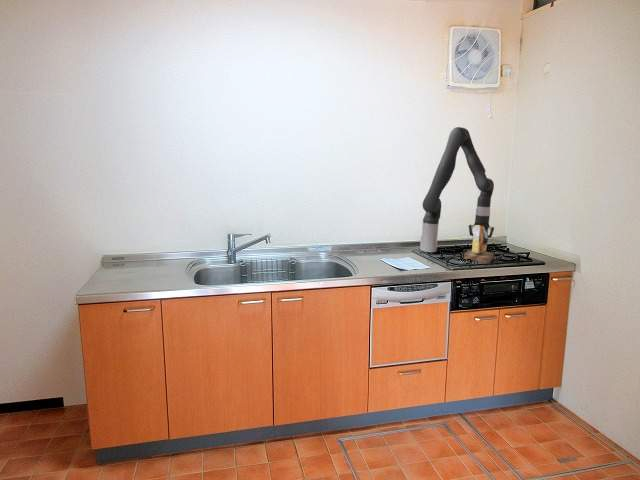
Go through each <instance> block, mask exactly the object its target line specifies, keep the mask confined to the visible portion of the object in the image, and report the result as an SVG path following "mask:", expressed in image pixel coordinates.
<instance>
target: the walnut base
mask: <svg viewBox="0 0 640 480" xmlns="http://www.w3.org/2000/svg"><path fill="white" fill-rule="evenodd" d="M463 259H471V260H473V261H472V262H479V263H485V264H490V263H491V261H492V260H493V259H494V252H488V251H484V252H479V253H476V252H472V249H468V250H467V251H466V252H465V253H464V254H463Z"/></svg>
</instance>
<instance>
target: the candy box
mask: <svg viewBox="0 0 640 480" xmlns="http://www.w3.org/2000/svg"><path fill="white" fill-rule="evenodd" d="M473 225H474V224H473ZM483 227H484V226H482V225H474V227H473V236H472V240H473V242H472V245H471V246H472V247H471V250H472V252H476V253H479V252H487V246H488V243H487V244H486V245H484V242H485V235H484V232H483ZM487 234H488V235H489V228H488V229H487Z"/></svg>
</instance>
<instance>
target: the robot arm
mask: <svg viewBox="0 0 640 480" xmlns="http://www.w3.org/2000/svg"><path fill="white" fill-rule="evenodd" d="M472 140H473V139H472V137H471V134H470V131H469V130H468V129H467V128H466V127H460V126H457V127H454V128H453V129H452V130H451V131H450V132H449V136H448V140H447V142H446V145H445V148H444V149H445V150H444V152H443V153H442V156H441V159H440V161H439V164H438V166H437V168H436V171H435V173H434V176H433V179H432V181H431V184H430V188H429V189H428V191H427V193H426V195H425V197H424V198H423V201H422V209H423V210H424V212H425V214H424V217H423V219H422V231H421V235H420V241H419V242H420V244H419V246H420V247H419V251H420V252H425V253H436V252H437V248H438V235H439V222H440V218H441V214H442V212H441V211H442V201H441V198H440V197H441V194H442V192H443V191H444V189H445V188H446V186H447V185H448V183H449V182H450V180H451V178H452V176H453V174H454V171H455V169H456V163H457V162H456V161H457V155H458V152H459V150H460V148H461V149H462V151H463V152H464V153H463V154H464V156H465V160H466V164H467V166H468V167H469V170H470V172H471V174H472V176H473V178H474V182H475V185H476V188H478V190H479V191H480V193H479V196H477V203H476V207H475V217H474V218H475V220H474V224H469V225H468V231H469V236H471V237H473V234H474V232H473V229H474V225H482V226H484V227H483V232H484V235H485V242H484V245H486V244H487V245H488V242H489V241H488V240H489V238H492V237H493V234H494V231H495V226H490V216H491V203H492V197H493V193H494V190H495V188H494V186H495V184H494V181H493V179H491V178H488V177H487V174H486V168H485V167H484V165H483V162H482V161H481V158H480V157H479V155H478V153H477V150H476V149H475V146H474V143H473V141H472ZM487 229H488V230H489V231H490V232H489V233H488V234H487ZM471 241H472V243H473V239H472V240H471Z"/></svg>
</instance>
